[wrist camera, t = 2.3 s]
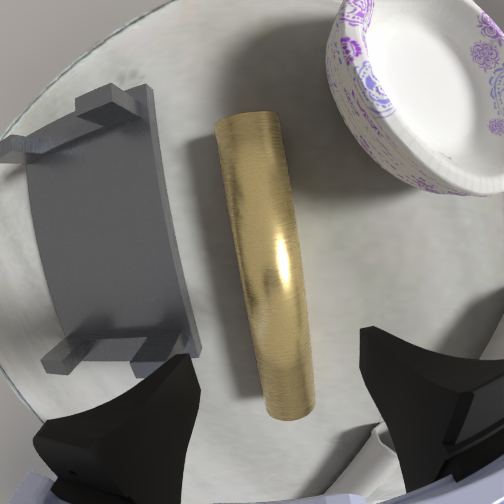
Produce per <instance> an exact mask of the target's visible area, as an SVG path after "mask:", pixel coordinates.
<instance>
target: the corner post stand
mask: <svg viewBox="0 0 504 504" xmlns="http://www.w3.org/2000/svg"><path fill="white" fill-rule="evenodd" d="M75 110H76V111H74V112H72V113H70V114H68V115H66V116H64V117H62V118H60V119H58V120H56V121H54V122H52V123H50V124H48V125H46V126H44V127H43V128H41V129H39V130H37V131H35V132H34V133H32V134H30V135H28V136H27V137H25V136H18V135H10V136H8V137H7V138H5V139H4V140H2V141H1V142H0V163H10V164H26V169H27V180H28V189H29V197H30V204H31V211H32V217H33V223H34V228H35V234H36V239H37V243H38V248H39V252H40V256H41V261H42V265H43V268H44V272H45V276H46V280H47V283H48V286H49V290H50V293H51V296H52V300H53V303H54V306H55V309H56V312H57V315H58V317H59V320H60V323H61V326H62V328H63V331H64V334H65V336H66V338H65V339H64V340H62V341H61V342H60V343H59V344H58V345H57V346H55V347H54V348H53V349H52V350H51V351H50V352H49V353H47V354H46V355H45V356H44V357H43V358H42V359H41V362H42V365H43V367H44V369H45V371H46V373H50V374H60V375H69V374H70V373H71V372H72V371H73V369H74V368H75V367H76V366H77V365H78V364H79V363H80V362H81V361H130V365H131V367H132V370H133V372H134V375H135V377H136V378H146V377H148V376H149V375H150V374H151V373H153V372H154V371H155V370H156V369H158V368H159V367H160V366H161V365H162V364H164V363H165V362H166V361H167V360H169V359H170V358H171V357H173V356H174V355H175V354H185V353H189V354H190V357H191V358H199V355H200V353H201V350H202V345H201V342H200V338H199V334H198V331H197V327H196V323H195V319H194V315H193V311H192V307H191V303H190V299H189V295H188V291H187V287H186V283H185V278H184V274H183V270H182V265H181V261H180V256H179V251H178V247H177V242H176V237H175V232H174V227H173V222H172V217H171V211H170V206H169V200H168V195H167V189H166V183H165V177H164V171H163V164H162V158H161V151H160V144H159V137H158V129H157V121H156V113H155V104H154V95H153V89H151V88H150V87H149V86H148V85H147V84H143V85H140V86H137V87H134V88H131V89H128V90H125V91H123V90H121V89H120V88H118V87H117V86H115V85H114V84H112V83H109V84H107V85H104V86H102V87H100V88H97V89H95V90H93V91H90V92H88V93H86V94H84V95H82V96H79V97H77V98H75Z"/></svg>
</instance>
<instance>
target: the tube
mask: <svg viewBox="0 0 504 504" xmlns="http://www.w3.org/2000/svg"><path fill="white" fill-rule="evenodd" d="M371 434H372V435H371V436H370V438H369V439H368V441H367V442H366V443H365V445H364V446H363V447H362V449H361V450H360V451H359V453H358V454H357V455H356V456H355V458H354V459H353V460H352V462H351V463H350V464H349V465H348V467H347V468H346V469H345V470H344V471H343V473H342V474H341V475H340V476H339V477H338V478H337V480H336V481H335V482H334V483H333V484H332V485H331V486H330V488H329V489H328V490H327V491H326V492H325V493H324V494H335V493H344V492H346V493H351V494H357V495H361V496H364V498H365V499H366V498H367V497H368V496H369V495H370V494H371V493H372V492H373V491H374V490H375V489H376V488H377V487H378V486H379V485H380V484H381V483H382V482H383V481H384V480H385V479H386V478H387V477H388V476H389V475H390V474H391V473H392V472H393V471H394V469H395V468H396V467H397V466H398V465H399V460H398V457H397V454H396V450H395V447H394V444H393V441H392V438H391V436H390V433H389V430H388V428H387V425H386V423H385V422H381V423H380V424H379V425H377V426H376V427H375V428H374V429H373V430H372V431H371ZM324 494H323V495H324Z"/></svg>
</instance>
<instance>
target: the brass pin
mask: <svg viewBox="0 0 504 504" xmlns="http://www.w3.org/2000/svg"><path fill="white" fill-rule="evenodd" d="M214 128H215V134H216V140H217V146H218V152H219V158H220V164H221V170H222V176H223V182H224V188H225V194H226V199H227V205H228V211H229V217H230V222H231V228H232V233H233V239H234V245H235V250H236V256H237V261H238V266H239V272H240V277H241V283H242V288H243V293H244V299H245V304H246V309H247V315H248V320H249V325H250V330H251V335H252V340H253V346H254V351H255V356H256V361H257V366H258V371H259V376H260V381H261V386H262V391H263V396H264V401H265V405H266V410H267V412H268V414H269V415H270V416H271V417H273V418H275V419H278V420H282V421H293V420H297V419H301V418H303V417H305V416H307V415H308V414H309V413H310V412H311V411H312V410H313V409H314V407H315V388H314V375H313V362H312V351H311V340H310V330H309V320H308V311H307V301H306V293H305V284H304V276H303V268H302V260H301V252H300V245H299V238H298V231H297V224H296V217H295V210H294V204H293V197H292V191H291V185H290V179H289V173H288V167H287V161H286V155H285V150H284V144H283V139H282V133H281V128H280V123H279V117H278V114H276V113H274V112H268V111H256V112H247V113H241V114H236V115H232V116H229V117H226V118H224V119H221V120H220V121H218V122H216V123H215V125H214Z"/></svg>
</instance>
